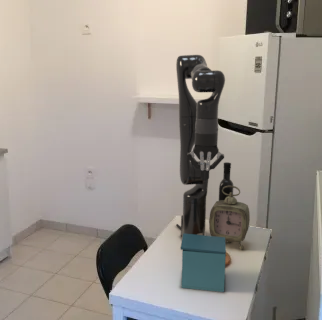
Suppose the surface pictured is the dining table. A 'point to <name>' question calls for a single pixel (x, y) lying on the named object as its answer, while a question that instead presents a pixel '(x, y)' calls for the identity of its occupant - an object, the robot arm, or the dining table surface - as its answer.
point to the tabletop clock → (229, 219)
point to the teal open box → (203, 270)
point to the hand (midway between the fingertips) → (204, 180)
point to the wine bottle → (225, 182)
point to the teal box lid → (203, 243)
